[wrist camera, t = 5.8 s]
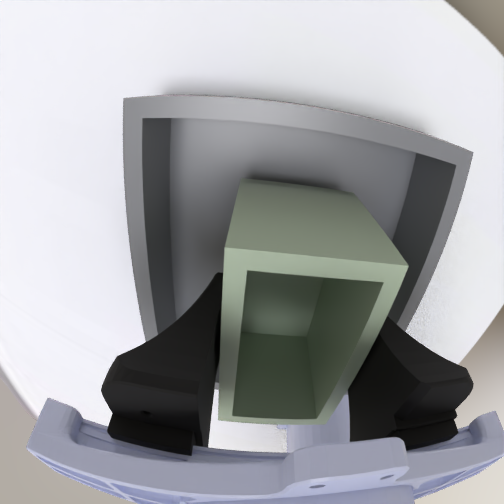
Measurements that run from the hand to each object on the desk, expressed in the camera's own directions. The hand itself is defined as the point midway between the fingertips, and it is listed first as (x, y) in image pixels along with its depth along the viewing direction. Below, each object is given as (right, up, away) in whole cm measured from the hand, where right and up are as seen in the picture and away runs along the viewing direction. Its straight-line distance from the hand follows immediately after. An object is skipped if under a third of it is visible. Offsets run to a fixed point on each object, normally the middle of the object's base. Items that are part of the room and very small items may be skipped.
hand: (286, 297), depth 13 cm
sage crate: (0, +1, +2) cm, 2 cm away
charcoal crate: (0, +2, +4) cm, 5 cm away
